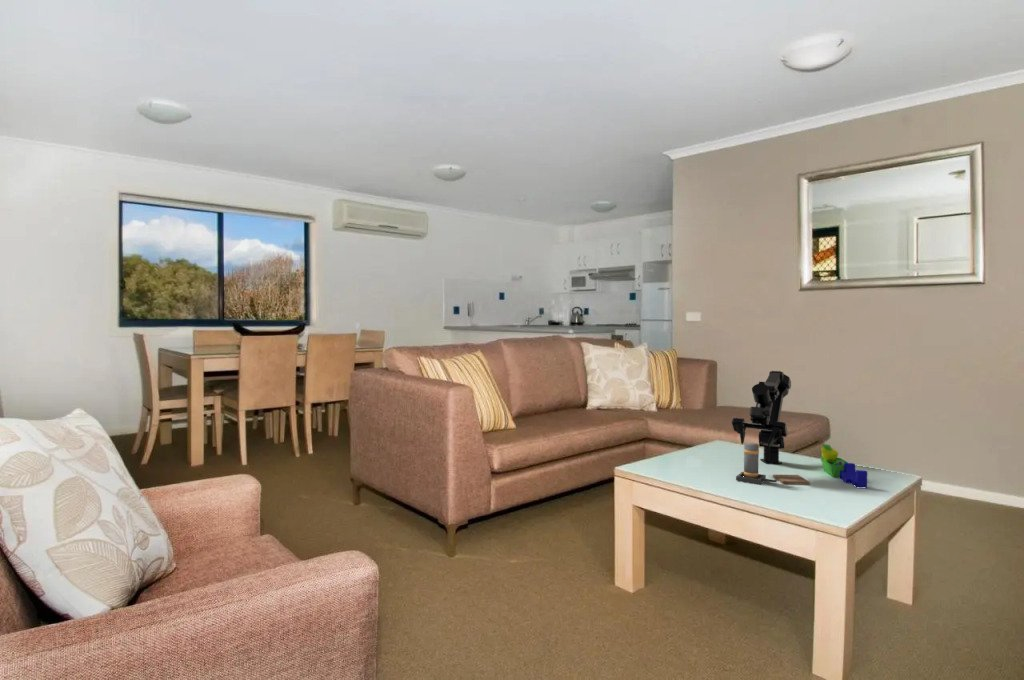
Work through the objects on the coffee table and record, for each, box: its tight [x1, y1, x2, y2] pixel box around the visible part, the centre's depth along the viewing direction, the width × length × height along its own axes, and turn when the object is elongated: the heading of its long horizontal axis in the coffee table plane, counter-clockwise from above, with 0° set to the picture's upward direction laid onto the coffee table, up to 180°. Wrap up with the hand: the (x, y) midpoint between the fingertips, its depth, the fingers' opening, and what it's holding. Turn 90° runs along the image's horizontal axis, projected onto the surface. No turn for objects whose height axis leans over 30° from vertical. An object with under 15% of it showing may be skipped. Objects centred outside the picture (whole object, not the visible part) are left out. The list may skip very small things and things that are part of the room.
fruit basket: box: [819, 444, 849, 478], centre depth 217 cm, size 11×9×11 cm
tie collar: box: [735, 471, 778, 485], centre depth 207 cm, size 8×13×2 cm, turn 54°
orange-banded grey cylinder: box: [743, 442, 760, 479], centre depth 209 cm, size 5×5×13 cm
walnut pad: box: [772, 474, 810, 485], centre depth 208 cm, size 9×9×1 cm
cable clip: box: [839, 462, 868, 489], centre depth 205 cm, size 12×4×6 cm, turn 169°
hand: (755, 445), depth 213 cm, fingers open, 9 cm apart
